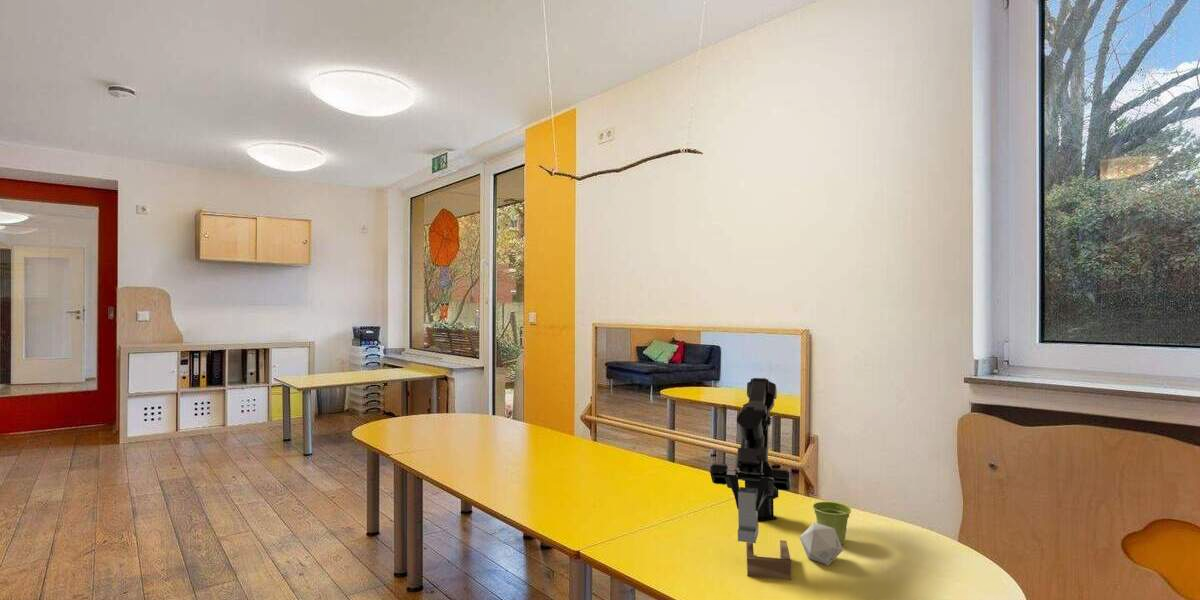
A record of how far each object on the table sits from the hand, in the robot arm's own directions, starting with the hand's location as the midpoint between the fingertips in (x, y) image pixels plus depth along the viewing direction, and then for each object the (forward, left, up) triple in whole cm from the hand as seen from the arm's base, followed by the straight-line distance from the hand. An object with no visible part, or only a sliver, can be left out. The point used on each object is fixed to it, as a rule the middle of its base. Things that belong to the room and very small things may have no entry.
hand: (747, 509), depth 138 cm
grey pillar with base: (-1, -1, -7) cm, 7 cm away
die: (-18, +2, -14) cm, 23 cm away
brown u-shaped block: (-4, +1, -13) cm, 14 cm away
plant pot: (-28, -7, -14) cm, 32 cm away
